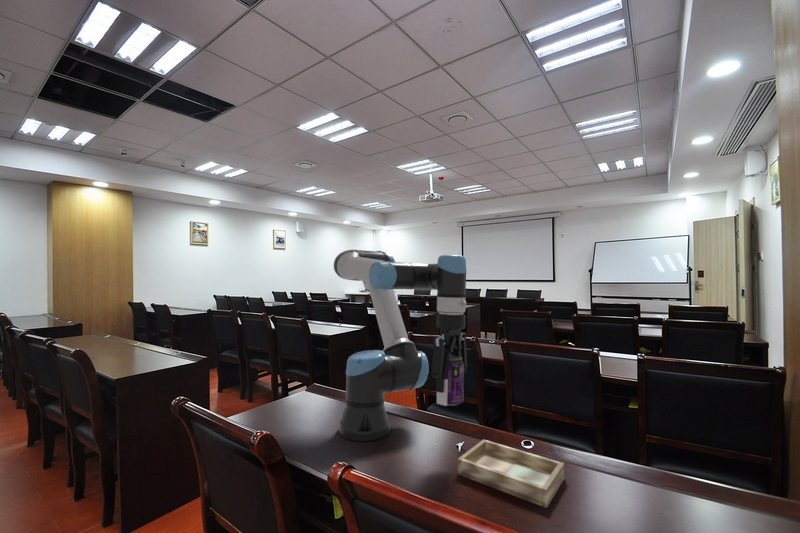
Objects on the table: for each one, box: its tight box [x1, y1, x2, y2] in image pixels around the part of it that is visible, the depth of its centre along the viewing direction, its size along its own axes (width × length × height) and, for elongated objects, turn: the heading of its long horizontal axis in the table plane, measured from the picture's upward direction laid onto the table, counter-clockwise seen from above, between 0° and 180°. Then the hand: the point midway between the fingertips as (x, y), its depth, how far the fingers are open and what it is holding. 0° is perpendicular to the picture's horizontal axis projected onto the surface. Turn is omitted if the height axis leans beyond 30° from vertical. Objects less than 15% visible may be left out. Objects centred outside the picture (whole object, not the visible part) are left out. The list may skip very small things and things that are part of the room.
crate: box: [457, 439, 565, 509], centre depth 82 cm, size 20×14×4 cm
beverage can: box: [435, 354, 465, 407], centre depth 94 cm, size 7×7×12 cm
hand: (449, 400), depth 93 cm, fingers closed on beverage can, 7 cm apart
